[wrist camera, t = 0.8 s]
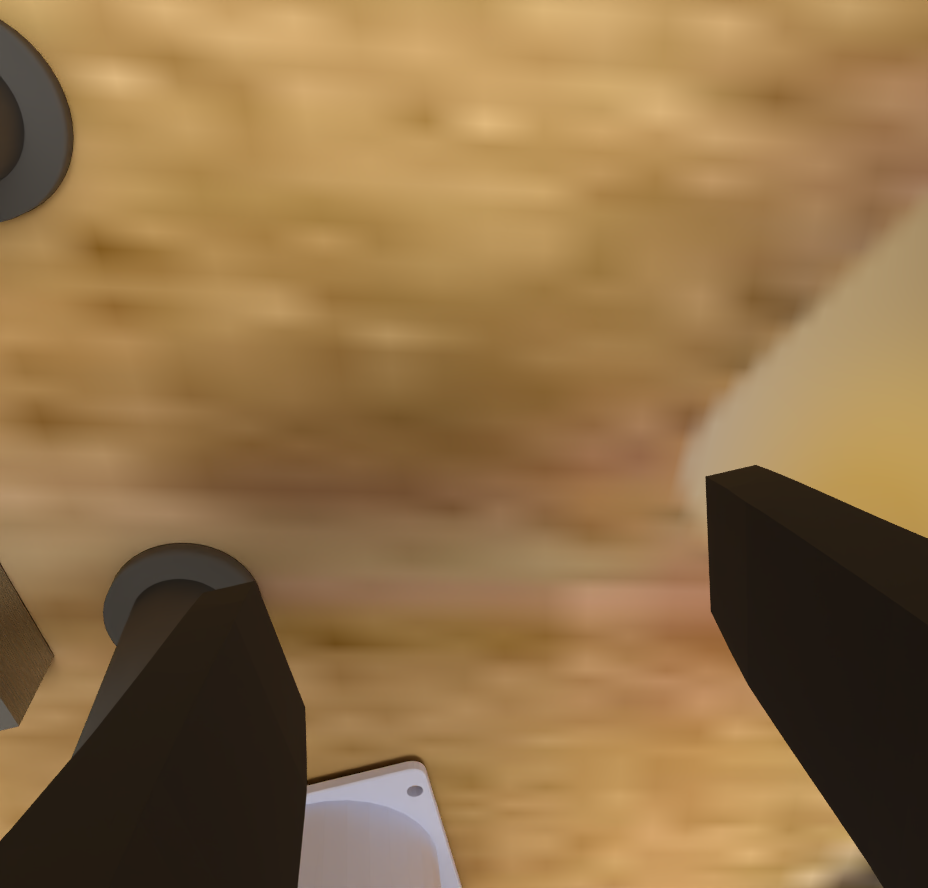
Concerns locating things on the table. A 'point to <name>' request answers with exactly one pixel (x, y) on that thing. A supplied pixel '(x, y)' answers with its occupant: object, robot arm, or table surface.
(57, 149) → the cord post
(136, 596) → the post
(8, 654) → the panel
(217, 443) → the table surface
